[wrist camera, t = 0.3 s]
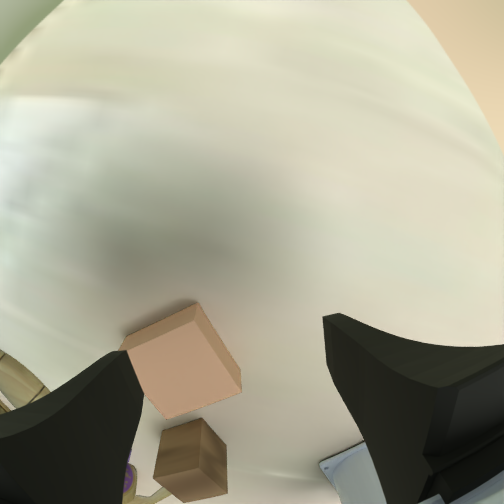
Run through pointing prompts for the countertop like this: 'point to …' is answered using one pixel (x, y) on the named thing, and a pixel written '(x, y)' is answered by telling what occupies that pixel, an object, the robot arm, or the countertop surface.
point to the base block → (182, 363)
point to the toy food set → (31, 389)
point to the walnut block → (192, 462)
